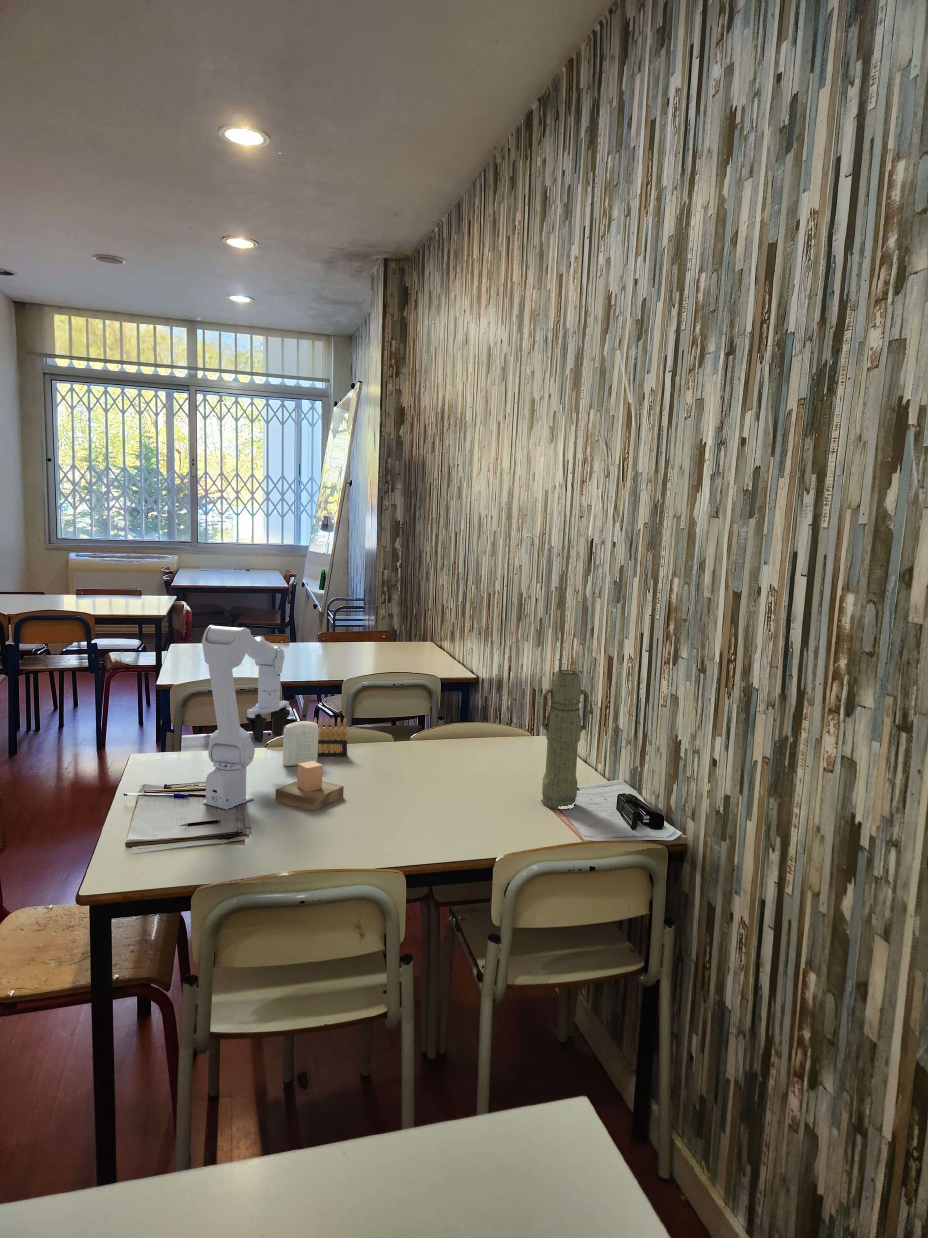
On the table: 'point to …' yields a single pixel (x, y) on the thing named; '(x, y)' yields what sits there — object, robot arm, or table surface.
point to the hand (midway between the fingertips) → (268, 738)
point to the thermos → (562, 737)
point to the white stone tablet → (300, 743)
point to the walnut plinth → (309, 795)
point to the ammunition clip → (332, 738)
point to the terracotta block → (309, 776)
